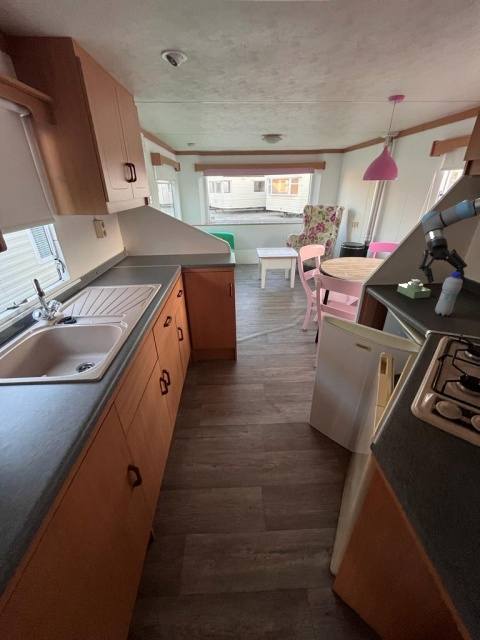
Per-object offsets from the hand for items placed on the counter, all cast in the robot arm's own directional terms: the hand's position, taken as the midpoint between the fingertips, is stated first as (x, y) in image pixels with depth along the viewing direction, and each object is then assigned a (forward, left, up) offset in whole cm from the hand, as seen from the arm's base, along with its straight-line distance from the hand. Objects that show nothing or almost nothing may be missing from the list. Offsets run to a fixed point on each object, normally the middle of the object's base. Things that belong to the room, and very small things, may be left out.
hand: (446, 282), depth 120 cm
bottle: (-4, +1, -14) cm, 15 cm away
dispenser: (+21, -5, -14) cm, 26 cm away
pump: (+21, -5, -9) cm, 24 cm away
